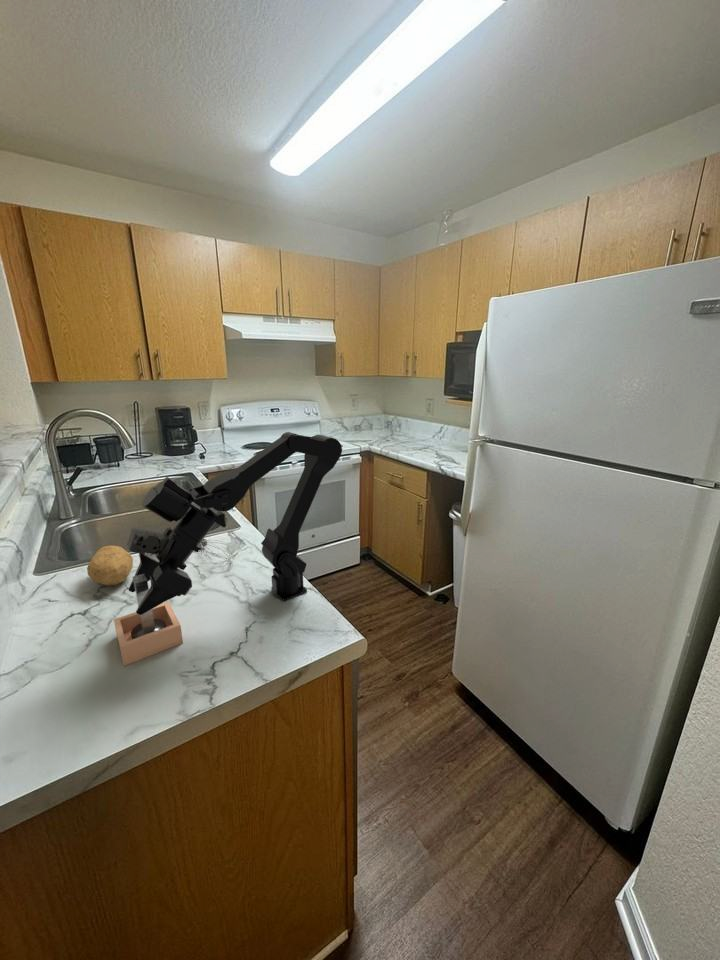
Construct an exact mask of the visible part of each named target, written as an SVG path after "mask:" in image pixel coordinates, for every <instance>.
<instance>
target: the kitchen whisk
mask: <svg viewBox="0 0 720 960" xmlns="http://www.w3.org/2000/svg"><path fill="white" fill-rule="evenodd" d="M217 541H218V542H220V544H222V545H225V546H227V547H228V551H225V550H223V549H222V548H220V547H219V546H218V545H216V544H218V542H217ZM208 543H209V544H208ZM215 543H216V544H215ZM211 544H212V545H211ZM207 545H208V546H211V547H213V548H215V549H218V550H220V551H222V552H223V553H226V554H225V556H226V558H225V557H223V559H224V560H225V559H226V560H225V561H223V562H221V563H218V565H221V564H224V563H226V564H225V565H224V566H222V568H224V567H226V566H227V565H228V563H229V562H230V563H232V561H231V559H232V558H233V560H235V559H236V556H235V553H236V550H235V548H234V547H233V546H232V545H230V544H227V543H226V542H224V541H223V540H218V539H215V541H212V542H211V541H210V539H206V538H205V537H204V538H203V540H202V541H201V542H200V543H199V545H198V546H199V547H200V548H201V550H202V553H203V555H204V556H205V558H206V559H207V560H208V561H209V563H212V564H214V565H217V563H215V562H212V560H211V559H209V558H208V557H207V556H206V554H205V552H207V553H208V554H209V555H212V556H213V557H216V558H220V559H222V557H221V556H219V557H218V555H215V554H214V553H213V554H212V552H209V551H207V550H206V549H205V548H206V547H207ZM202 547H203V548H202ZM229 547H230V548H232V549H233V551H234V552H233V554H232V553H231V550H230V548H229ZM203 549H204V550H203ZM207 549H208V550H211V549H210V548H209V547H207ZM204 551H205V552H204ZM227 553H228V555H227Z"/></svg>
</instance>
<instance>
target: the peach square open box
mask: <svg viewBox="0 0 720 960" xmlns="http://www.w3.org/2000/svg"><path fill="white" fill-rule="evenodd" d="M152 612H153V618H154V619H161V620H163V621H165V623H166V628H163V629H160V630H157V631H155V632H152V633H149V634H146V635H143V636H141V637H138V638H135V639H132V637H131V631H132V630H133V628H134V627H136V626H137V625H138V624H140V623H141V620H140V615H139V614H137V613H136V611H135V612H132V613H129V614H126V615H122V616H120V617H117V618H114V619H113V623H114V629H115V634H116V638H117V642H118V647H119V651H120V654H121V660H122V663H123V666H124V667H125V666H128V665H130V664H133V663H135V662H137V661H141V660H142V659H145V658H148V657H151V656H153V655H156V654H157V653H162V652H163V651H166V650H168V649H171V648H174V647H177V646H180V645H181V644H183V643H184V640H183V634H182V633H183V632H182V627H181V624H180V621H179V618H178V617H177V616H176V615H177V614H175V611H174V609H173V607H172V606H171V604H170V602H169V601H165V602H163V603H161V604H160V605H158V606H156V607H154V608H153V609H152Z"/></svg>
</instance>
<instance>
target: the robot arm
mask: <svg viewBox="0 0 720 960" xmlns="http://www.w3.org/2000/svg"><path fill="white" fill-rule="evenodd" d="M295 453H299V454H300V453H301V454H304V462H303V463H304V465H303V466H304V467H303V471H302V474H301V475H300V477H299V480H298V482H297V485H296V487H295V489H294V492H293V494H292V496H291V499H290V500H289V503H288V506H287V507H286V509H285V512H284V514H283V517H282V519H281V520H280V523H279V525H277V526H276V527H275V528H274V529H272V528H268V529H267V530H266V533H265V536H264V539H263V540H262V541H261V543H260V544H261V546H262V547H261V553H262V556H263V557H264V558H265V560H266V561H268V562H269V563H270V564H271V565H272V566H273V567H274V568H272V575H271V588H270V589H271V591H272V592H273V593H274V594H275V595H276V596H277V597H278V598H279V599H280V600H282V601H287V600H290V599H292V598H295V597H297V596H299V595H303V594H304V593H305V594H306V593H307V592H308V589H307V588H306V587H305V586H304V573H305V571H306V567H307V563H306V562H305V561H304V560H303V559H302V558H301V557H299V556H298V552H299V547H300V538H299V537H300V532H301V529H302V528H303V524H304V522H305V520H306V518H307V516H308V512H309V510H310V509H311V507H312V504H313V502H314V501H315V500H314V499H315V497H316V494H317V492H318V490H319V488H320V486H321V483H322V482H323V481H322V480H323V479H324V477H325V476H326V475H327V474H328V473H329V472H330V471H331V470H333V469H334V467H335V466H336V464H337V463H338V461H339V459H340V458H341V456H342V453H343V448H342V445H341V442H340V441H339V440H338V439H337V438H334V437H331V436H327V435H323V434H315V435H313V436H307V435H306V436H305V435H302V434H297V433H294V432H290V431H286V432H284V433H283V434H281V436H280V437H279V438H277V439H276V440H275V441H273V442H272V443H270V444H269V445H267V446H266V447H264V448H263V449H262V450H260V451H259V452H258V453H257V454H255V455H253V456H252V457H251V458H250V459H247V461H245V462H244V463H242V464H241V465H240V466H238V467H236V468H233V469H231V470H227V471H225V472H222V473H220V474H217V475H216V476H214V477H212V478H210V479H208V480H207V481H206V482H205V483H204V484H201V485H199V486H195V487H192V488H189V489H188V488H187V489H185V488H184V487H182V486H180V485H179V484H177V483H176V481H174V480H173V479H172V478H170V477H169V476H166V477H165V478H164V479H163V480H162V481H160V482H158V483H157V484H156V485H155V486H154V487H151V488H150V490H149V491H148V492H147V493H146V495H145V496H144V498H143V500H142V502H141V507H142V508H144V509H146V510H148V511H150V512H151V513H152V514H154V515H156V516H158V517H159V518H162V519H163V520H165V521H167V523H168V522H169V523H172V522H177V523H176V524H175V525H174V527H171V526H170V527H167V528H166V529H165V530H164V531H163V532H160V531H156V530H151V529H145V528H139V527H132V528H131V531H130V534H129V537H128V539H127V543H126V546H128V550H129V552H132V553H136V554H138V557H139V564H138V567H137V569H136V571H135V574H134V576H137V575H141V574H145V576H146V578H147V582H148V583H149V582H150V586H149V590H148V592H147V594H146V595H145V597H144V598H143V600H142V602H141V603H140V605H139V607H138V606H137V609H136V611H135V612H136V613H137V614H139V615H142V614H144V613H146V612H147V611H149V610H151V609H153V608H154V607H156V606H158V605H160V604H162V603H165V602H168V601H170V600H171V599H173V598H176V597H181V595H182V596H187V594H188V593H189V591H190V590H191V589H192V587H193V583H192V582H193V581H192V579H191V577H190V576H189V574H188V572H186V571H185V569H186V568H187V564H186V563H185V562H187V560H188V559H189V558H190V556H191V555H192V554H193V553H194V552H195V553H198V552H199V551H200V550H202V548H201V547H199V546H198V545H199V543H200V542H201V541H202V540H203V538H204V539H205V537H206V536H207V535H208V534H209V532H210V530H212V528H213V527H214V526H215V524H217V525H218V526H220V527H222V528H226V527H227V524H226V523H227V522H226V519H225V518H226V514H225V513H224V512H229V511H231V510H232V509H234V508H235V507H236V506H237V505H238V504H239V502H241V501H242V499H244V498H245V497H246V494H247V493H248V492H249V490H250V488H251V487H252V486H253V485H254V484H255V483H256V482H258V481H259V480H260V479H262V478H263V477H265V475H267V474H268V473H270V472H271V471H273V470H274V469H275V468H277V467H278V466H279V465H280V464H282V463H283V462H284V461H286V460H287V459H288V458H290V457H291V456H293V455H294V454H295ZM213 509H214V510H215V511H214V510H213ZM216 511H217V512H216ZM127 590H128V592H131V593H135V587H134V583H133V579H132V580H131V582H130V585H129V587H128V589H127Z"/></svg>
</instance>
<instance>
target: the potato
mask: <svg viewBox="0 0 720 960" xmlns="http://www.w3.org/2000/svg"><path fill="white" fill-rule="evenodd" d="M133 565H134V557H133V556H132V555H131V553H130V552H128V551H127V550H125V549H124V548H123V547H122V546H118V545H105V546H103V547H100V548H99V549H98V550H96V552H95V553H94V555H93V557H92V558H91V560H90V561H89V562H88V564H87V566H86V567H87V568H86V569H87V570H86V571H87V576H88V577H89V578H90V579H91V580H92V581H93V582H94V583H95V582H96V583H99V584H101V585H104V586H116V585H118V584H121V583H123V582H124V581H126V580H127V578H128V577H129V575H130V573H131V572H132V570H133Z"/></svg>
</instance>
